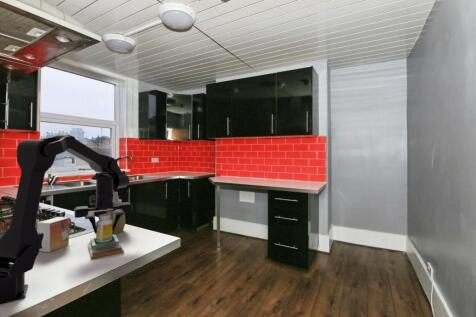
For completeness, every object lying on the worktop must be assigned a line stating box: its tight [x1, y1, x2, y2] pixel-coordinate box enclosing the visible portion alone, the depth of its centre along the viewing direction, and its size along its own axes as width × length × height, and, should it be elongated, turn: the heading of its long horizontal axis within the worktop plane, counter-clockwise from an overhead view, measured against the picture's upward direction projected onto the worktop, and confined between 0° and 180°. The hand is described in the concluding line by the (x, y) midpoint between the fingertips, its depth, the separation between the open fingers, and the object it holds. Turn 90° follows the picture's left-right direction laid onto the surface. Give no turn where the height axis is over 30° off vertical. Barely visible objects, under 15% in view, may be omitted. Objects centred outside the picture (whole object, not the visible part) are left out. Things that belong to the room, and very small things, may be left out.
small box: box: [36, 216, 70, 253], centre depth 90 cm, size 8×6×10 cm
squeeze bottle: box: [106, 191, 126, 235], centre depth 108 cm, size 8×8×18 cm
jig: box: [87, 234, 125, 261], centre depth 89 cm, size 14×10×3 cm
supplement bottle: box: [95, 213, 113, 242], centre depth 91 cm, size 5×5×10 cm
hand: (104, 232), depth 91 cm, fingers closed on supplement bottle, 5 cm apart
